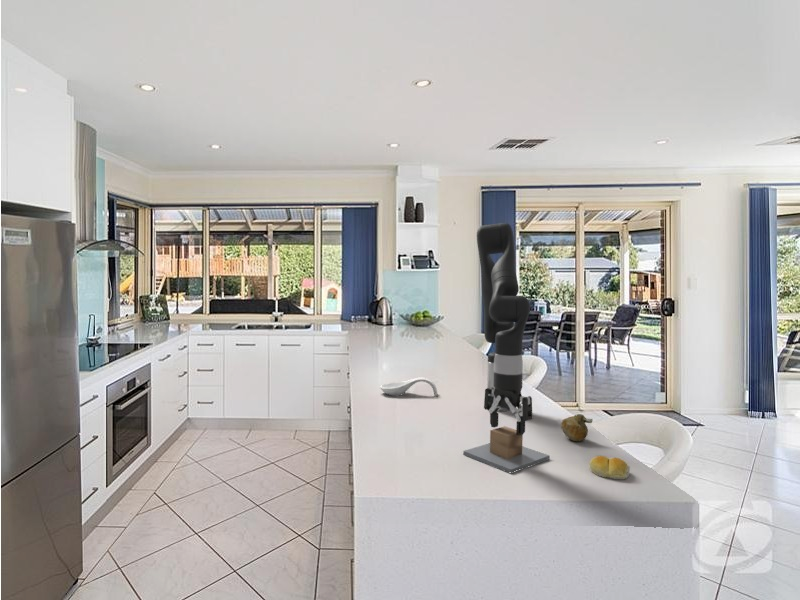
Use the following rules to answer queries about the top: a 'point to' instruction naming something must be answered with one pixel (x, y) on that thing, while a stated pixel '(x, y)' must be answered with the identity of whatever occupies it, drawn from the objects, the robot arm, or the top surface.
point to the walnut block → (505, 442)
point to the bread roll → (609, 467)
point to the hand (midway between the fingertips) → (506, 430)
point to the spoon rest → (405, 386)
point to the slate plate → (510, 464)
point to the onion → (575, 427)
